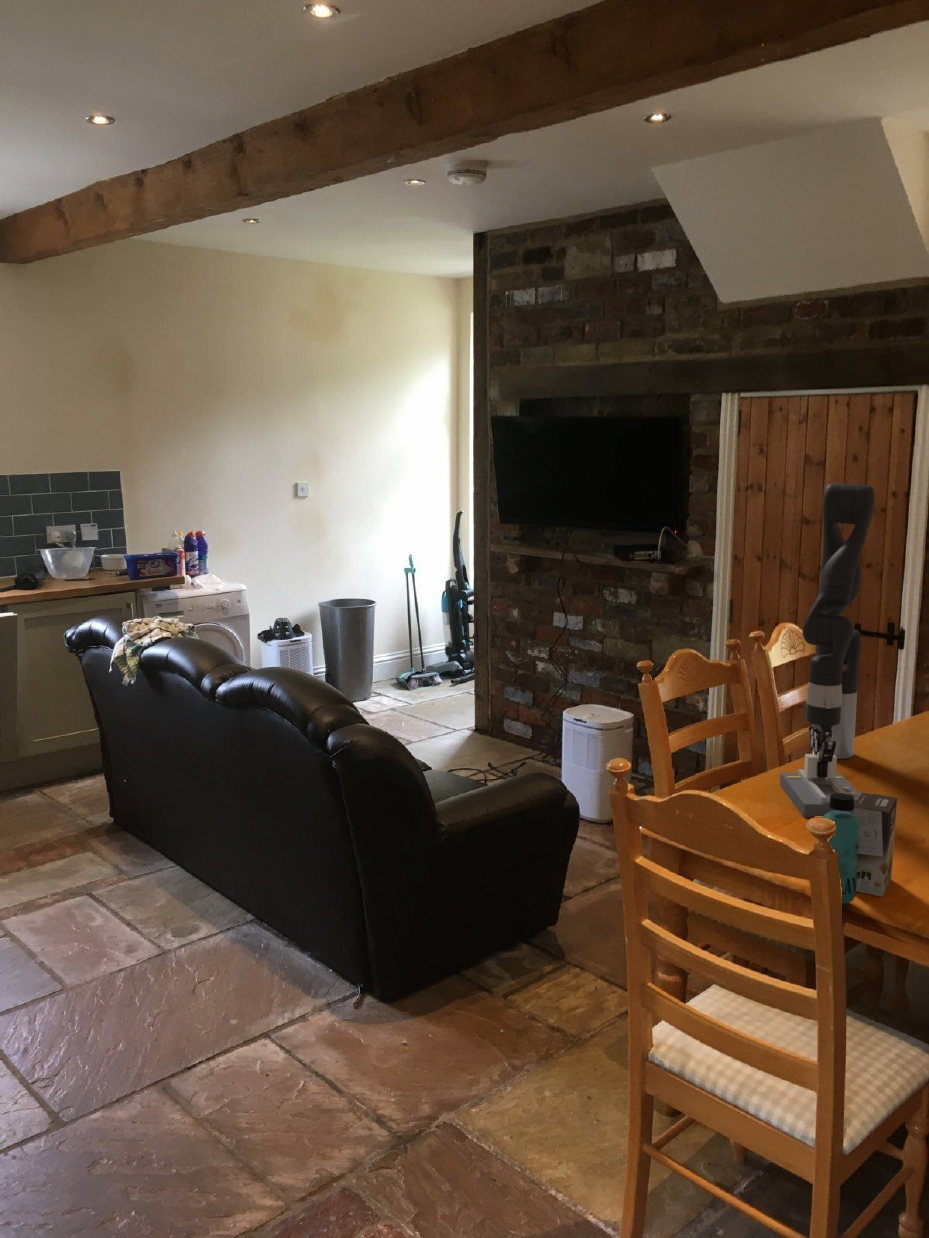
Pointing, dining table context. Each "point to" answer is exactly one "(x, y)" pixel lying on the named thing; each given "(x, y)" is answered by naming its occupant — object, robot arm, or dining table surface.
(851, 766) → the dining table surface
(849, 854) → the beverage bottle
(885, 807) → the coffee box
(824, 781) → the fader
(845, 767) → the dining table surface
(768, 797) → the dining table surface
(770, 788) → the dining table surface
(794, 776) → the console
